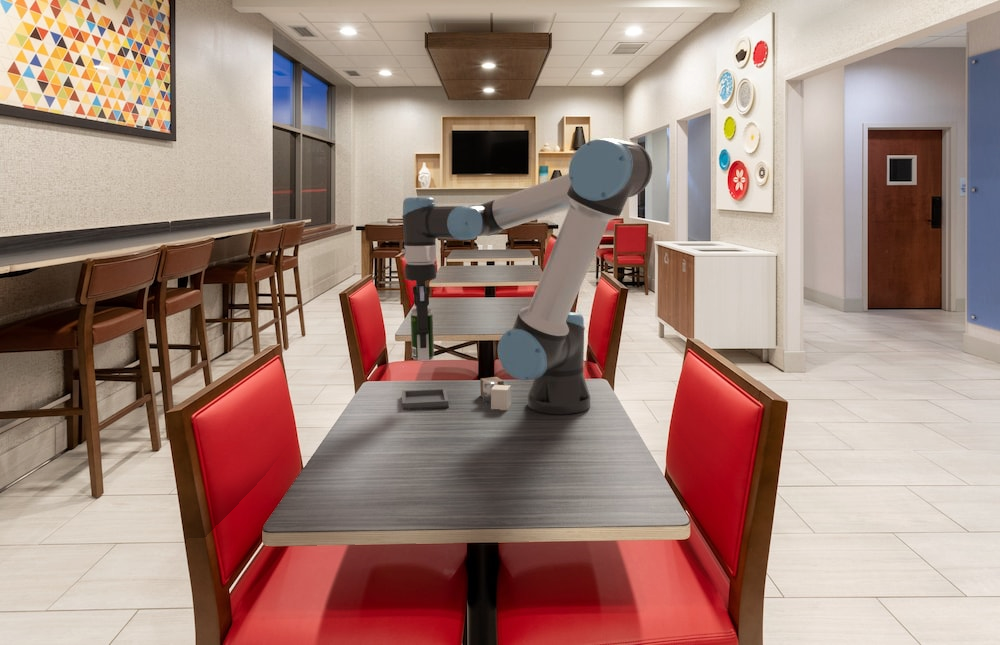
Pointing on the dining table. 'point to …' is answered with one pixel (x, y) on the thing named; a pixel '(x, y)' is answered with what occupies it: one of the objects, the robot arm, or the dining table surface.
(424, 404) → the tray
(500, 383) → the walnut block
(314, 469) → the dining table surface
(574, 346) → the robot arm
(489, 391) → the grey metal cylinder
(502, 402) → the cream block
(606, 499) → the dining table surface
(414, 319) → the green soda can
